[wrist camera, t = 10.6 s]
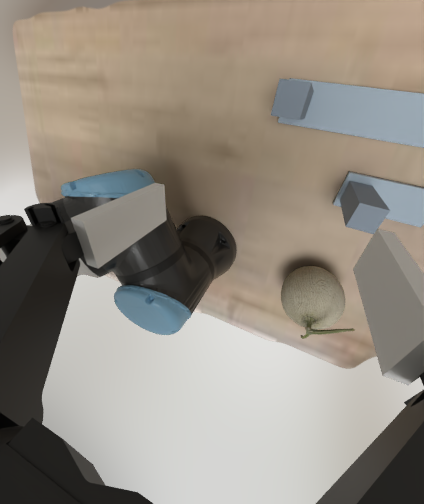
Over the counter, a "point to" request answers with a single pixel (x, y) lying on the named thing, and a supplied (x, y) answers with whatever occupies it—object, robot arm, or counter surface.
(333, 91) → the strip
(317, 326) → the fruit
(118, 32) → the counter surface
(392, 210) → the lane
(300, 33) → the counter surface
